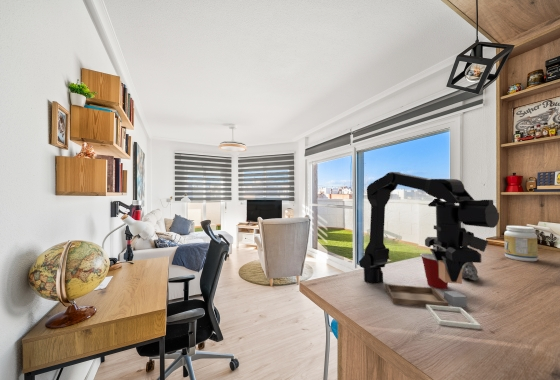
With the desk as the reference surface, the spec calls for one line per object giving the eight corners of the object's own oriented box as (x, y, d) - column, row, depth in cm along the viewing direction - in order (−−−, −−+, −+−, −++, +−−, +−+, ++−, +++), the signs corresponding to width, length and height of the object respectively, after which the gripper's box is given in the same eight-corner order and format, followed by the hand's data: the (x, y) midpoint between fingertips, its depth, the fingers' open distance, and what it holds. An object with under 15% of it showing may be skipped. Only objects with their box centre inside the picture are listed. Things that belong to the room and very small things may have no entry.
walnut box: (393, 305, 72) (393, 297, 72) (385, 290, 84) (385, 284, 84) (448, 311, 69) (448, 302, 69) (432, 294, 80) (432, 287, 80)
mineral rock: (475, 285, 88) (474, 258, 88) (443, 276, 97) (442, 253, 97) (486, 277, 96) (485, 253, 96) (455, 270, 104) (454, 248, 105)
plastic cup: (462, 290, 83) (461, 257, 84) (444, 296, 79) (443, 261, 79) (432, 280, 93) (431, 250, 93) (414, 284, 89) (413, 253, 89)
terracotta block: (462, 283, 62) (461, 265, 62) (445, 282, 63) (444, 264, 63) (454, 278, 66) (454, 260, 66) (438, 277, 67) (438, 260, 67)
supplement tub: (502, 254, 131) (501, 224, 131) (533, 257, 123) (532, 226, 124) (507, 259, 121) (506, 227, 121) (541, 263, 114) (540, 229, 114)
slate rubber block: (453, 310, 70) (453, 297, 70) (444, 303, 74) (443, 291, 74) (466, 309, 70) (466, 296, 70) (456, 303, 74) (455, 291, 74)
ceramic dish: (439, 327, 61) (439, 321, 61) (425, 309, 70) (425, 304, 70) (481, 332, 58) (480, 325, 58) (461, 313, 68) (461, 307, 68)
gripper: (506, 228, 54) (508, 295, 53) (463, 219, 72) (464, 269, 72) (452, 227, 56) (454, 291, 56) (423, 219, 74) (424, 267, 74)
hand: (449, 278), depth 64 cm, fingers closed on terracotta block, 4 cm apart
